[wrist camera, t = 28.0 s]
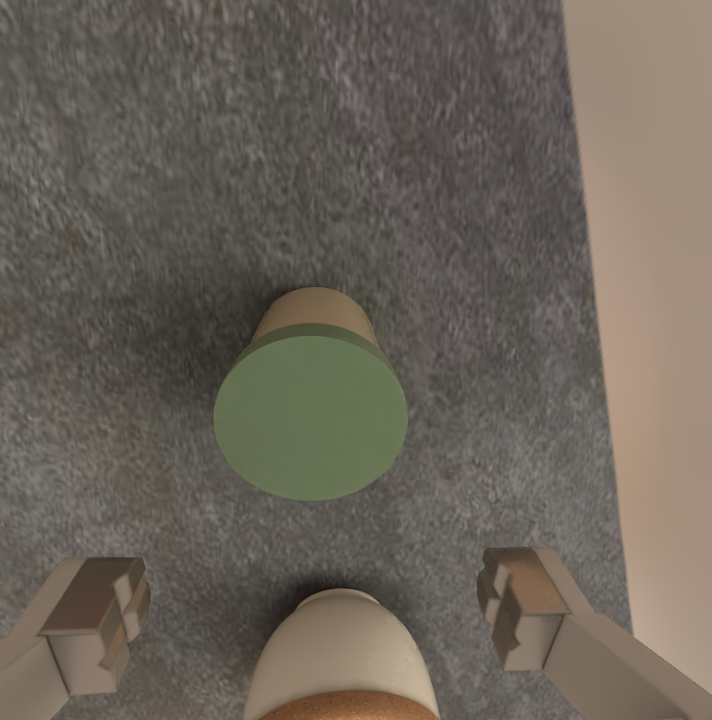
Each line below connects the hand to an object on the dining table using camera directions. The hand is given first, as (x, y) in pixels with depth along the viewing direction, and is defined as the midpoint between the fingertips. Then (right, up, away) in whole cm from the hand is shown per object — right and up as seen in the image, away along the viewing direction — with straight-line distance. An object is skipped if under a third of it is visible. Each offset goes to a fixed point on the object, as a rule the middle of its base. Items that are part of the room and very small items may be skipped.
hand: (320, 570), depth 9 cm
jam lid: (-1, +3, +5) cm, 6 cm away
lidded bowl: (-1, -15, +22) cm, 27 cm away
